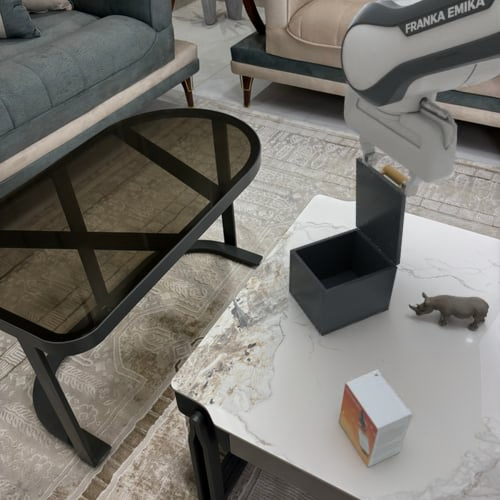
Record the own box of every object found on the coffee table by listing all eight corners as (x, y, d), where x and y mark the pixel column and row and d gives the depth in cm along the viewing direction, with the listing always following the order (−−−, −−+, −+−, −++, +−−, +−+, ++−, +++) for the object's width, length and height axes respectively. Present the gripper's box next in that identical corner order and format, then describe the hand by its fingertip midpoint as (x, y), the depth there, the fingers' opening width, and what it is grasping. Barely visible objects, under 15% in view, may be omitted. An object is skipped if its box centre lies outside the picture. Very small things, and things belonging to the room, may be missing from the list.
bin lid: (402, 195, 75) (428, 184, 76) (355, 158, 84) (379, 148, 85) (396, 265, 85) (419, 255, 87) (355, 226, 94) (376, 217, 95)
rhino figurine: (405, 307, 93) (411, 284, 89) (483, 315, 91) (492, 292, 87) (406, 323, 90) (412, 300, 86) (487, 333, 88) (496, 309, 84)
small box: (337, 421, 76) (343, 381, 69) (369, 408, 77) (378, 367, 71) (367, 469, 70) (377, 429, 63) (400, 453, 72) (413, 413, 65)
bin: (321, 336, 89) (325, 293, 82) (288, 291, 97) (289, 249, 90) (388, 309, 93) (397, 267, 86) (351, 269, 101) (357, 227, 95)
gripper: (480, 110, 58) (454, 208, 67) (376, 58, 73) (366, 144, 82) (436, 122, 56) (416, 221, 65) (339, 67, 71) (333, 153, 80)
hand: (387, 178), depth 73 cm, fingers open, 8 cm apart
